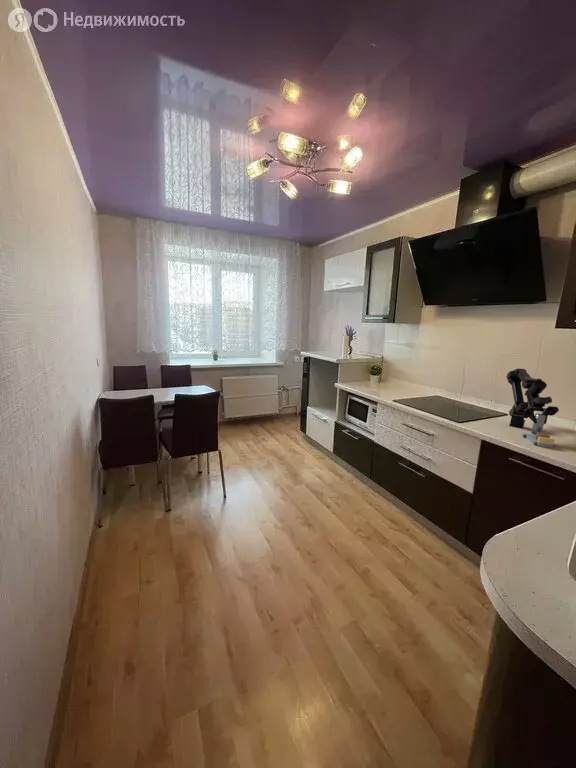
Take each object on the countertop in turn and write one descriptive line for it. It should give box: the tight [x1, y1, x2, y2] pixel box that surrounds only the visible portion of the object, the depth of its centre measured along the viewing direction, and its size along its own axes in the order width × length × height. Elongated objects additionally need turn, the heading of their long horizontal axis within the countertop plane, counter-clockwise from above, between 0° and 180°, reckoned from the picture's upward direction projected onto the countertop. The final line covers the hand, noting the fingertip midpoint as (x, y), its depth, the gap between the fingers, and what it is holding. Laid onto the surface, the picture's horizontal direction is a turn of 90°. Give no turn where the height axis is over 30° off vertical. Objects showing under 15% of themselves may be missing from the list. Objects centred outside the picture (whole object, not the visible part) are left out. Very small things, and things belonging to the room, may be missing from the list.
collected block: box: [536, 432, 551, 441], centre depth 166 cm, size 4×4×4 cm
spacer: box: [530, 413, 546, 435], centre depth 171 cm, size 4×4×11 cm
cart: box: [522, 432, 556, 449], centre depth 170 cm, size 14×9×5 cm, turn 169°
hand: (540, 423), depth 169 cm, fingers closed on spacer, 4 cm apart
